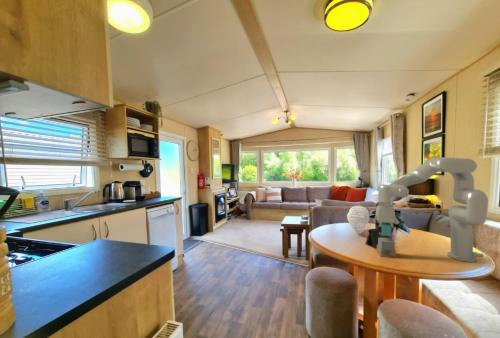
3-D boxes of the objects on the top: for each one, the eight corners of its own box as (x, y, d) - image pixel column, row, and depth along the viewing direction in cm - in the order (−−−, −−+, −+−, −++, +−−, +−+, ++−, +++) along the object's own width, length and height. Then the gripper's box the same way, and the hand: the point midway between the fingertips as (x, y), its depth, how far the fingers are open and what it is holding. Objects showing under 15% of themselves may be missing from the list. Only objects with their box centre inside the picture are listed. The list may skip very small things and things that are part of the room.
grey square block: (390, 253, 137) (390, 245, 137) (395, 258, 129) (395, 250, 129) (376, 252, 139) (376, 244, 139) (380, 257, 131) (380, 249, 131)
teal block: (388, 233, 135) (388, 224, 135) (391, 235, 131) (391, 226, 130) (379, 232, 137) (379, 223, 137) (382, 235, 132) (382, 225, 132)
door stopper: (382, 247, 146) (382, 230, 145) (375, 248, 144) (375, 231, 144) (372, 243, 154) (372, 226, 154) (365, 244, 153) (365, 227, 153)
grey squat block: (390, 246, 136) (390, 238, 136) (394, 250, 129) (394, 242, 129) (378, 245, 138) (378, 237, 138) (381, 249, 131) (381, 241, 131)
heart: (369, 241, 159) (368, 211, 158) (346, 237, 166) (346, 209, 166) (369, 230, 183) (369, 205, 182) (349, 228, 191) (349, 203, 190)
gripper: (398, 204, 135) (398, 232, 135) (368, 203, 139) (368, 230, 140) (403, 206, 127) (403, 236, 128) (371, 205, 132) (372, 233, 132)
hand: (385, 232), depth 134 cm, fingers closed on teal block, 4 cm apart
